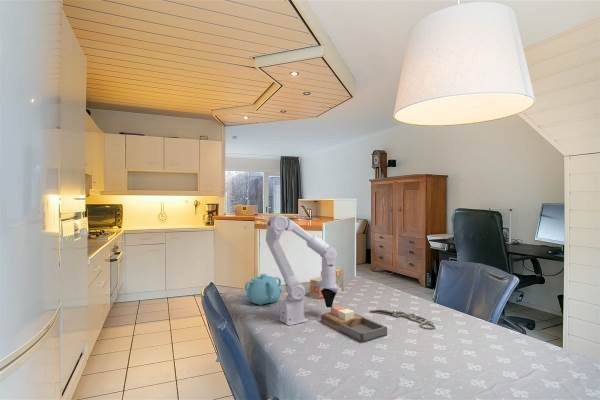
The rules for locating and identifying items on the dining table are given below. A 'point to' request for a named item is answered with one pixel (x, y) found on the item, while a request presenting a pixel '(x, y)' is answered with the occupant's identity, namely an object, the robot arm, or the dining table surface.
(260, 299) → the decorative pot
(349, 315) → the cream tile
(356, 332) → the gray box
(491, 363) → the dining table surface
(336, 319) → the wooden square board
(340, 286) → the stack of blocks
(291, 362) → the dining table surface
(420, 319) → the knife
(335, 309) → the salmon cube
